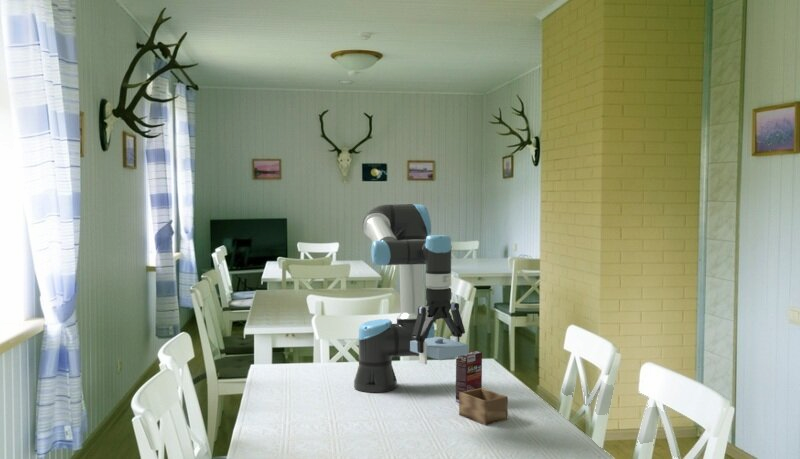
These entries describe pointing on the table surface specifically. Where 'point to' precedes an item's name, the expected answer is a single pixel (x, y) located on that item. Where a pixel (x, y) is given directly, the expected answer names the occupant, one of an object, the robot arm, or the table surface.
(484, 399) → the box
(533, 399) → the table surface
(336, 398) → the table surface
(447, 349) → the lid
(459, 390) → the supplement box
